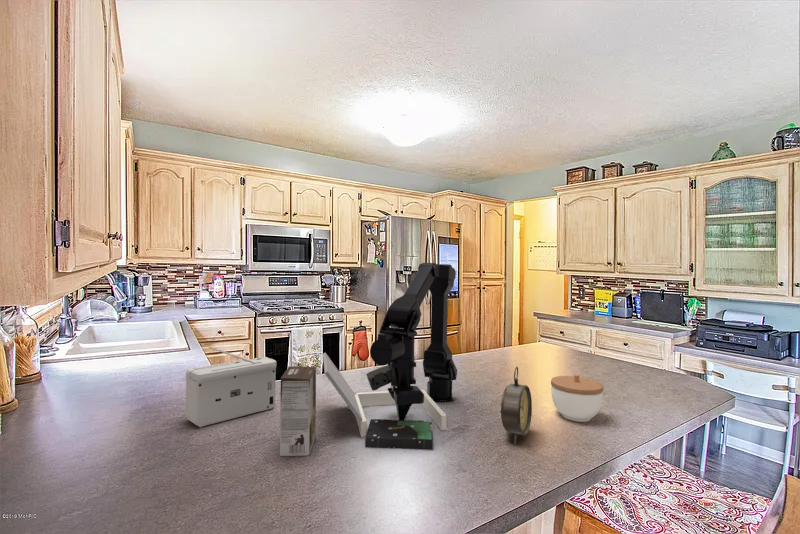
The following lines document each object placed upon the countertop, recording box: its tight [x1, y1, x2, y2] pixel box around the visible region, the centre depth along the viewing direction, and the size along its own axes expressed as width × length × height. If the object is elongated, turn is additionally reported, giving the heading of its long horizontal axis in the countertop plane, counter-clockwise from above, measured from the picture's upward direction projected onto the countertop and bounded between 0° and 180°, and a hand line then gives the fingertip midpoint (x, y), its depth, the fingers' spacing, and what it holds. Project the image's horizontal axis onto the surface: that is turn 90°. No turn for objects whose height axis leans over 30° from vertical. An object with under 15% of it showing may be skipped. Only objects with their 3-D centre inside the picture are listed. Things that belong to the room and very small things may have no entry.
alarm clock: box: [500, 365, 533, 445], centre depth 91 cm, size 11×5×16 cm, turn 148°
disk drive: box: [364, 418, 434, 451], centre depth 89 cm, size 10×3×15 cm
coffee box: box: [279, 365, 317, 457], centre depth 84 cm, size 9×6×16 cm
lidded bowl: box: [550, 374, 604, 423], centre depth 103 cm, size 13×13×11 cm
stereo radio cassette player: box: [185, 343, 278, 428], centre depth 101 cm, size 21×8×20 cm, turn 134°
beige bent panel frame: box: [322, 352, 447, 438], centre depth 100 cm, size 29×20×15 cm
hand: (401, 420), depth 95 cm, fingers closed
